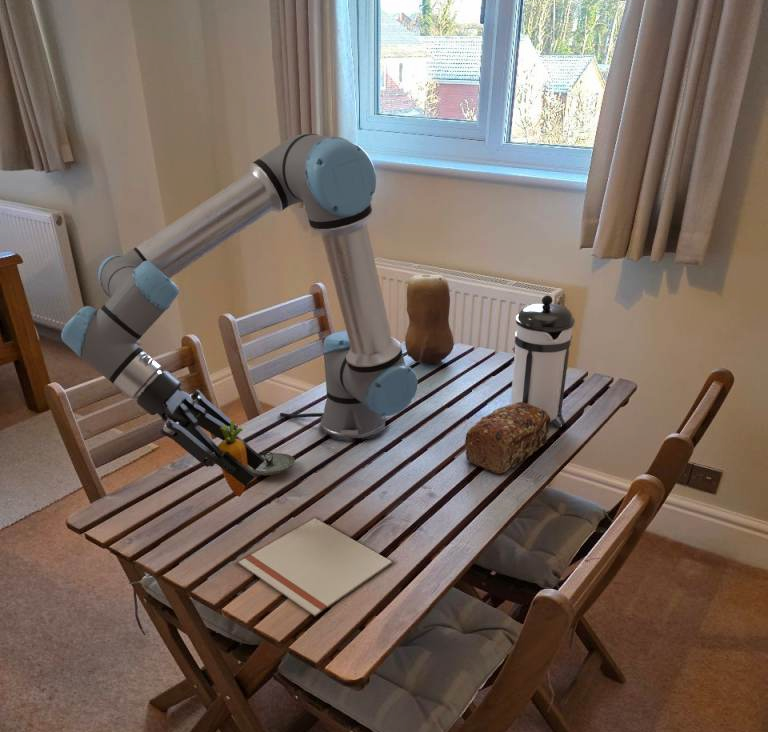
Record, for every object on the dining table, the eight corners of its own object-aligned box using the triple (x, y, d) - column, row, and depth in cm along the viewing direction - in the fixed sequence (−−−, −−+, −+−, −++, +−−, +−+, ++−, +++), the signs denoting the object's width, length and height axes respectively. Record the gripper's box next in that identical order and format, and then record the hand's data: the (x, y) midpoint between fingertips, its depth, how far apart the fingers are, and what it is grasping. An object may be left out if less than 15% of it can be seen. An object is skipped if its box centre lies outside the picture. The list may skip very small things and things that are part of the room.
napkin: (238, 563, 121) (238, 561, 121) (315, 519, 132) (315, 517, 132) (315, 616, 110) (314, 614, 109) (391, 563, 121) (391, 561, 120)
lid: (267, 493, 143) (270, 474, 140) (234, 469, 147) (236, 450, 144) (302, 473, 151) (305, 455, 148) (269, 450, 154) (272, 432, 151)
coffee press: (579, 415, 167) (597, 292, 152) (545, 439, 157) (560, 310, 142) (518, 396, 177) (529, 279, 162) (482, 417, 167) (490, 295, 152)
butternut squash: (429, 350, 206) (431, 265, 193) (462, 362, 197) (465, 274, 184) (394, 362, 198) (393, 275, 185) (426, 376, 190) (427, 285, 176)
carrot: (240, 486, 130) (229, 414, 122) (258, 494, 127) (247, 421, 119) (219, 497, 126) (206, 424, 118) (237, 506, 124) (225, 432, 116)
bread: (502, 478, 144) (505, 435, 138) (461, 461, 150) (463, 420, 145) (550, 445, 155) (555, 405, 150) (510, 430, 161) (513, 391, 156)
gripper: (137, 393, 108) (252, 488, 114) (181, 350, 123) (281, 436, 129) (113, 422, 111) (226, 512, 118) (159, 377, 126) (257, 459, 133)
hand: (255, 472), depth 123 cm, fingers closed on carrot, 5 cm apart
